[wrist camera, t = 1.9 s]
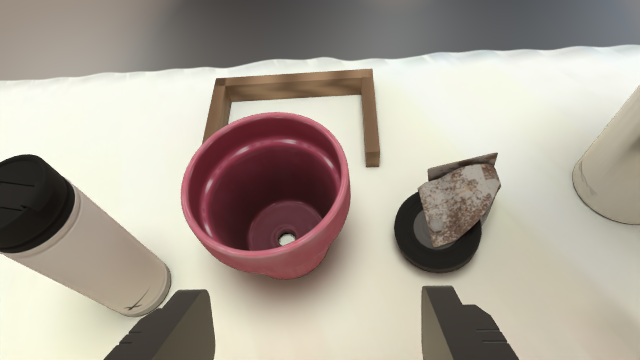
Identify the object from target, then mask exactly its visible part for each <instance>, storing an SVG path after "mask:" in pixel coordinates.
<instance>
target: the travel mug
mask: <svg viewBox="0 0 640 360" xmlns="http://www.w3.org/2000/svg"><path fill="white" fill-rule="evenodd" d="M0 254H3V255H5V256H6V257H8V258H10V259H12V260H14V261H16V262H18V263H20V264H22V265H24V266H26V267H28V268H30V269H32V270H34V271H36V272H38V273H40V274H42V275H44V276H46V277H48V278H50V279H52V280H54V281H56V282H58V283H60V284H62V285H64V286H66V287H68V288H70V289H72V290H75V291H77V292H79V293H81V294H83V295H85V296H87V297H89V298H91V299H93V300H95V301H97V302H99V303H101V304H103V305H105V306H107V307H109V308H111V309H113V310H115V311H117V312H119V313H121V314H123V315H126V316H131V317H135V316H141V315H144V314H147V313H149V312H151V311H152V310H154V309H155V308H156V307H157V306H158V305H159V304H160V303H161V302H162V301H163V300H164V298H165V297H166V295H167V293H168V291H169V287H170V282H171V276H170V271H169V269H168V267H167V266H166V264H165V263H164V262H162V261H161V260H160V259H159V258H158V257H157V256H156V255H154V254H153V253H152V252H151V251H150V250H149V249H147V248H146V247H145V246H144V245H143V244H142V243H140V242H139V241H138V240H137V239H136V238H135V237H134V236H132V235H131V234H130V233H129V232H128V231H127V230H125V229H124V228H123V227H122V226H121V225H120V224H118V223H117V222H116V221H115V220H114V219H113V218H112V217H110V216H109V215H108V214H107V213H106V212H105V211H103V210H102V209H101V208H100V207H99V206H98V205H96V204H95V203H94V202H93V201H92V200H91V199H90V198H88V197H87V196H86V195H85V194H84V193H83V192H81V191H80V190H79V189H78V188H77V187H76V186H74V185H73V184H72V183H71V182H70V181H69V180H67V179H65V178H64V177H63V176H61V175H60V174H59V173H58V172H57V171H56V170H55V169H53V168H52V167H51V166H50V165H49V164H48V163H46V162H45V161H44V160H43V159H42V158H40V157H38V156H36V155H30V154H28V155H19V156H14V157H11V158H9V159H6V160H4V161H2V162H0Z"/></svg>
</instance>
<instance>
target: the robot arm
mask: <svg viewBox="0 0 640 360" xmlns="http://www.w3.org/2000/svg"><path fill="white" fill-rule="evenodd" d="M573 183H574V186H575V189H576V191H577V193H578V194H579V196H580V197H581V198H582V200H583V201H584V202H585V203H586V204H587V205H588V206H589V207H591V208H592V209H593V210H595V211H596V212H598V213H599V214H601V215H603V216H605V217H607V218H609V219H611V220H615V221H618V222H621V223H628V224H640V85H639V86H638V88H637V89H636V90H635V91H634V93H633V94H632V95H631V96H630V98H629V99H628V100H627V101H626V103H625V104H624V105H623V106H622V108H621V109H620V110H619V111H618V113H617V114H616V115H615V116H614V118H613V119H612V120H611V121H610V123H609V124H608V125H607V126H606V128H605V129H604V130H603V131H602V133H601V134H600V135H599V136H598V138H597V139H596V140H595V141H594V143H593V144H592V145H591V146H590V148H589V149H588V150H587V151H586V153H585V154H584V155H583V156H582V158H581V159H580V160H579V161H578V163H577V164H576V166H575V168H574V171H573ZM421 314H422V353H423V360H519V359H518V357H517V356H516V354H515V352H514V351H513V349H512V348H511V346H510V345H509V343H507V340H506V339H505V337H504V335H503V334H502V332H500V330H499V328H498V326H497V325H496V323H495V321H494V320H493V318H492V317H491V315H489V314H488V313H486V312H485V311H483V310H482V309H481V308H479V307H478V306H476V305H462V303H461V301H460V299H459V297H458V295H457V294H456V292H455V290H454V288H453V287H452V286H423V287H422V296H421ZM214 354H215V335H214V327H213V319H212V311H211V303H210V296H209V293H208V291H207V290H205V289H203V290H178V291H177V292H176V293H175V294H174V295H173V296H172V297H171V298H170V300H169V301H168V302H167V303H166V304H165V305H164V307H163V308H158V309H156V310H154V311H153V312H151V313H150V314H148V315H147V316H145V317H143V318H142V319H140V320H139V321H138V323H137V324H136V325H135V326H134V327H133V328H132V329H131V330H130V331H129V334H127V335H126V336H125V337H124V338H123V339H122V340H121V341H120V342H119V345H116V347H115V348H114V349H113V350H112V351H111V352H110V353H109V354H108V355H107V356H106V357H105V359H104V360H213V359H214Z"/></svg>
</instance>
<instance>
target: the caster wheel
mask: <svg viewBox="0 0 640 360" xmlns="http://www.w3.org/2000/svg"><path fill="white" fill-rule="evenodd" d="M497 154H498V153H492V154H488V155H483V156H479V157H475V158H471V159H467V160H463V161H458V162H454V163H450V164H446V165H442V166H437V167H433V168H430V169H428V180H429V182H426V183H424V184H423V185H422V186H420V187H419V188H418V192H416V193H415V194H413V195H412V196H410V197H409V198H408V199H407V200H406V201H405V202H404V203H403V204H402V205H401V207H400V208H399V210H398V212H397V215H396V219H395V226H394V229H395V237H396V240H397V243H398V245H399V247H400V249H401V251H402V252H403V254H404V255H405V257H406V258H407V259H408V260H409V261H410V262H411V263H412V264H414V265H415V266H417V267H419V268H421V269H423V270H425V271H429V272H435V273H446V272H450V271H454V270H457V269H459V268H461V267H462V266H464V265H465V264H466V263H468V262H469V260H470V259H471V258H472V257H473V255H474V254H475V252H476V250H477V248H478V245H479V243H480V239H481V226H482V225H483V223H484V221H485V219H486V218H487V215H488V213H489V211H490V208H491V206H492V203H493V201H494V198H495V196H496V194H497V192H498V190H499V189H500V187H501V184H500V181H499V178H498V175H497V172H496V169H495V168H494V165H495V161H496V158H497Z"/></svg>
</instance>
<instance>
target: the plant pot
mask: <svg viewBox="0 0 640 360" xmlns="http://www.w3.org/2000/svg"><path fill="white" fill-rule="evenodd" d="M350 198H351V195H350V179H349V170H348V164H347V160H346V157H345V154H344V151H343V149H342V147H341V145H340V143H339V142H338V141H337V139H336V138H335V137H334V135H333V134H332V133H331V132H330V131H329V130H327V129H326V128H325V127H324V126H322V125H321V124H319V123H318V122H316V121H314V120H312V119H309V118H307V117H304V116H301V115H296V114H291V113H282V112H271V113H261V114H256V115H251V116H248V117H244V118H242V119H239V120H237V121H234V122H232V123H230V124H228V125H226V126H225V127H223V128H221V129H220V130H218V131H217V132H216V133H214V134H213V135H212V136H211V137H209V138H208V139H207V140H206V141H205V142H204V143H203V144H202V146H201V147H200V148H199V149H198V150H197V152H196V153H195V154H194V156H193V157H192V159H191V161H190V163H189V164H188V166H187V169H186V171H185V174H184V177H183V181H182V186H181V205H182V210H183V213H184V216H185V219H186V221H187V223H188V225H189V227H190V228H191V230H192V231H193V233H194V234H195V235H196V237H197V238H198V239H199V241H200V242H201V243H202V244H203V246H204V247H205V248H206V249H207V250H208V251H209V252H210V253H211V254H212V255H213V256H214V257H215V258H217V259H218V260H219V261H221V262H223V263H224V264H226V265H228V266H230V267H232V268H235V269H238V270H241V271H245V272H250V273H258V274H265V275H267V276H269V277H272V278H276V279H294V278H298V277H301V276H303V275H305V274H307V273H309V272H311V271H312V270H313V269H315V268H316V267H317V266H318V265H319V264H320V263H321V261H322V260H323V259H324V257H325V255H326V253H327V251H328V248H329V245H330V244H331V243H332V242H333V240H334V239H335V238H336V237H337V235H338V234H339V232H340V231H341V229H342V227H343V225H344V223H345V220H346V218H347V215H348V211H349V207H350ZM287 232H288V233H291V234H293V235H294V236H295V241H293V242H291V243H289V244H286V245H284V246H282V245H280V244H279V242H278V240H279V237H280V236H281V235H282V234H284V233H287Z"/></svg>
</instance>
